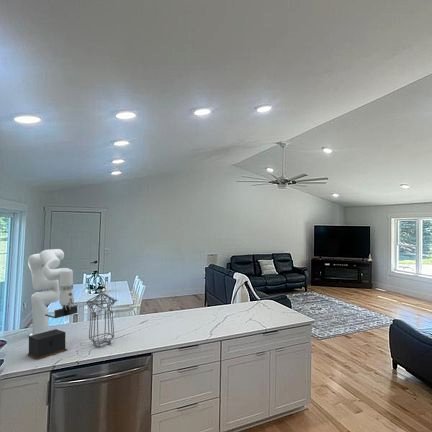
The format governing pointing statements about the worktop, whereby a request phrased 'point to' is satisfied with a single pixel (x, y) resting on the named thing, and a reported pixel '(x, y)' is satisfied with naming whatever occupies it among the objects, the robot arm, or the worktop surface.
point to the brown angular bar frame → (60, 312)
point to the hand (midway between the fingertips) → (66, 315)
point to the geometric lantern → (101, 314)
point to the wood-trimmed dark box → (46, 344)
